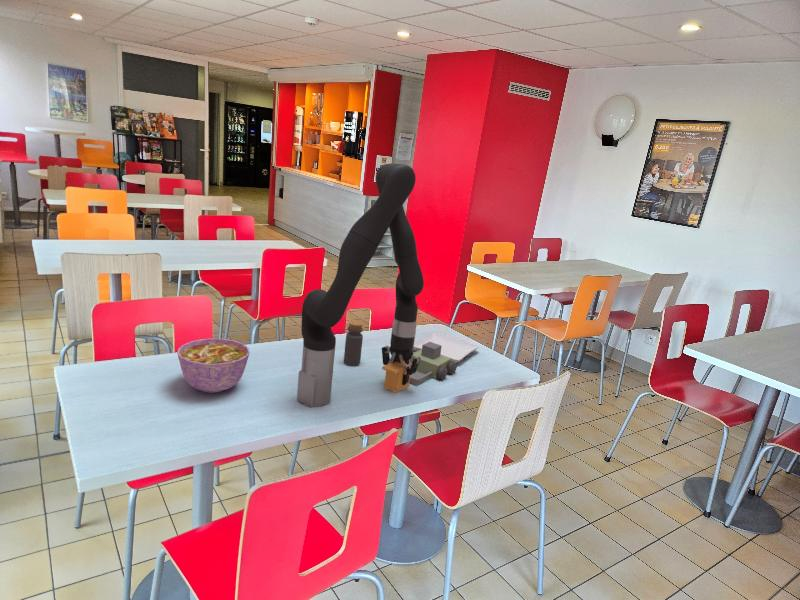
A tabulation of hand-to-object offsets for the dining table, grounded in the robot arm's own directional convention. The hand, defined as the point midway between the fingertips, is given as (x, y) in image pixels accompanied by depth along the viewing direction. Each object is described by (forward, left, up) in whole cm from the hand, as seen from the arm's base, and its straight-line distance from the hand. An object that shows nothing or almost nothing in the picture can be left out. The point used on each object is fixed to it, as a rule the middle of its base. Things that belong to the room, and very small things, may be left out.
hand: (397, 381), depth 173 cm
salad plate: (+41, +5, -3) cm, 41 cm away
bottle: (+4, +22, -2) cm, 22 cm away
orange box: (-1, 0, -2) cm, 2 cm away
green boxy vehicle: (+16, 0, -2) cm, 16 cm away
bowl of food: (-42, +38, -2) cm, 57 cm away
